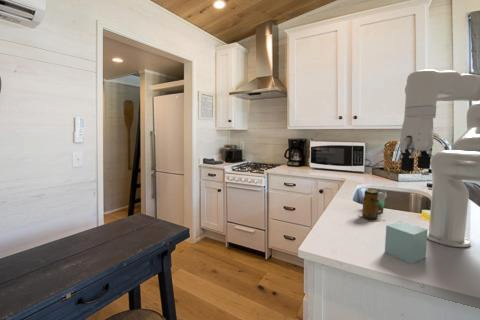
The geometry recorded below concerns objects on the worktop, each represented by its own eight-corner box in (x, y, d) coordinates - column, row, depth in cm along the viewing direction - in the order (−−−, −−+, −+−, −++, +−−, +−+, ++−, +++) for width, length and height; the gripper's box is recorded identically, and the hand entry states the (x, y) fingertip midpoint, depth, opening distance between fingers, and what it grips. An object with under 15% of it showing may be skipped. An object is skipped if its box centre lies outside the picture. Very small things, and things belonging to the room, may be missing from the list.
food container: (390, 215, 107) (391, 194, 106) (375, 215, 108) (377, 194, 107) (380, 207, 119) (381, 188, 118) (366, 207, 120) (367, 188, 119)
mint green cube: (398, 246, 77) (400, 221, 76) (425, 257, 70) (427, 229, 70) (384, 252, 74) (386, 225, 73) (411, 263, 67) (414, 234, 66)
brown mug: (370, 214, 109) (372, 189, 108) (385, 220, 101) (387, 193, 100) (357, 215, 108) (358, 190, 106) (371, 222, 99) (372, 194, 98)
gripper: (419, 115, 77) (416, 166, 79) (390, 113, 69) (386, 170, 71) (448, 113, 71) (443, 169, 73) (419, 111, 63) (414, 173, 64)
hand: (415, 169), depth 72 cm, fingers open, 9 cm apart
